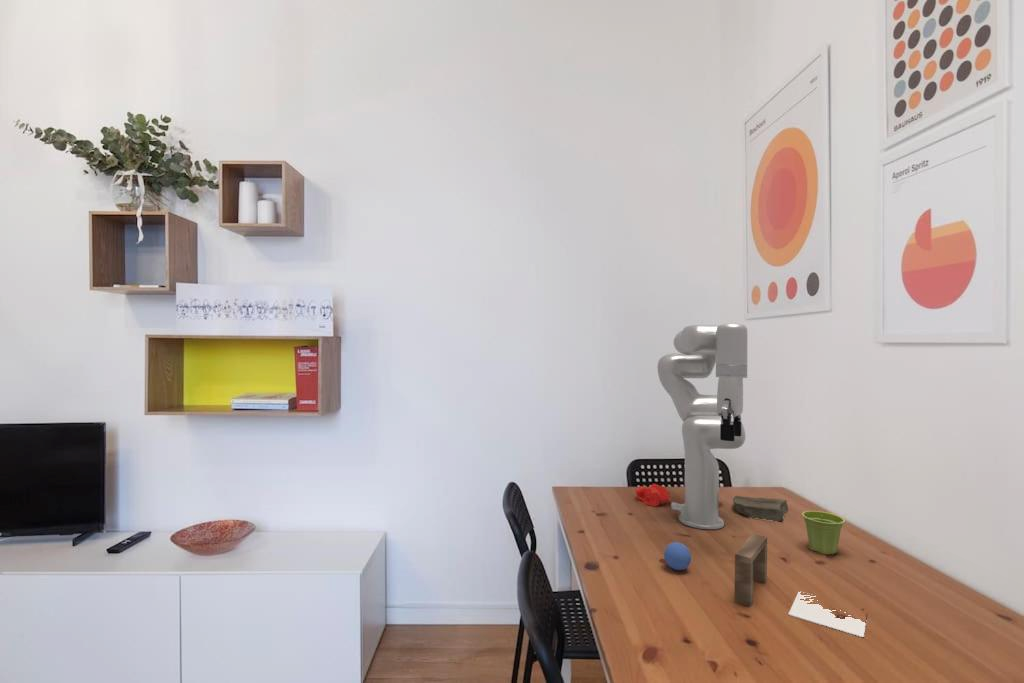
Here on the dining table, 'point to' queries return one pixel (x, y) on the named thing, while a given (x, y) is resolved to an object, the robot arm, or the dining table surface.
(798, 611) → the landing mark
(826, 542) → the plant pot
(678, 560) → the ball
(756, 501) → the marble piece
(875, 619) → the dining table surface
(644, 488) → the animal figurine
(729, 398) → the robot arm
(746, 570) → the bridge
